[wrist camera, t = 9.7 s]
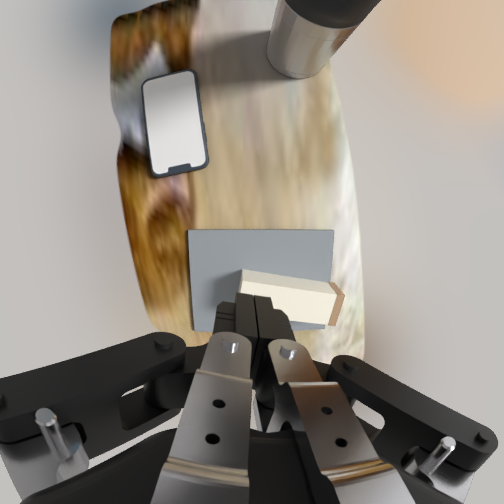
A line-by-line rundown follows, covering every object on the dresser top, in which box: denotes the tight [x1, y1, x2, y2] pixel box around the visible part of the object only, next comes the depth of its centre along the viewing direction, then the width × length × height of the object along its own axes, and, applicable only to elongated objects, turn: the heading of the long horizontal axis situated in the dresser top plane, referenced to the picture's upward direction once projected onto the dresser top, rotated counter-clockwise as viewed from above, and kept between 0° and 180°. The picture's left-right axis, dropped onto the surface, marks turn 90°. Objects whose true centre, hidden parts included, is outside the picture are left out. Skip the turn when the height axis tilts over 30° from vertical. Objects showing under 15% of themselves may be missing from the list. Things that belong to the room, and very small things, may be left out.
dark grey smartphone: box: [141, 69, 209, 177], centre depth 38 cm, size 9×2×16 cm
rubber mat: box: [188, 229, 334, 332], centre depth 45 cm, size 17×22×1 cm
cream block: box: [238, 269, 345, 326], centre depth 43 cm, size 5×5×15 cm
